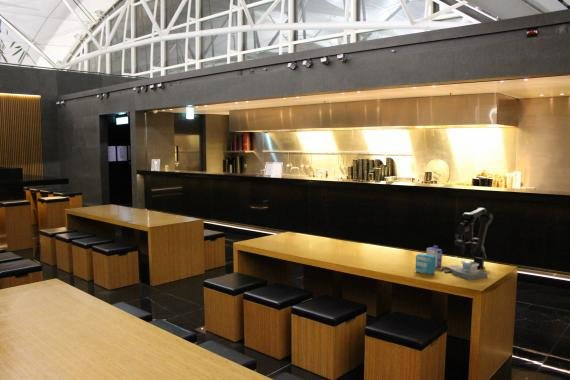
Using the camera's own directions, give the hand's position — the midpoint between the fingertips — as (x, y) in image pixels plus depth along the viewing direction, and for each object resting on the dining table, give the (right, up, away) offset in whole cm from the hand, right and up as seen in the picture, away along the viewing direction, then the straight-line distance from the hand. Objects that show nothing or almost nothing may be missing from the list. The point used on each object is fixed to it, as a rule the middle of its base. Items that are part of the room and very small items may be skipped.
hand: (467, 254), depth 325 cm
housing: (-2, -10, -9) cm, 14 cm away
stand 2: (-2, -13, -9) cm, 16 cm away
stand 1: (-6, -12, +4) cm, 14 cm away
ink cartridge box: (-18, -11, +16) cm, 26 cm away
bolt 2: (-14, -12, -1) cm, 18 cm away
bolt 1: (-17, -12, +4) cm, 21 cm away
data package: (-29, -12, -2) cm, 32 cm away
